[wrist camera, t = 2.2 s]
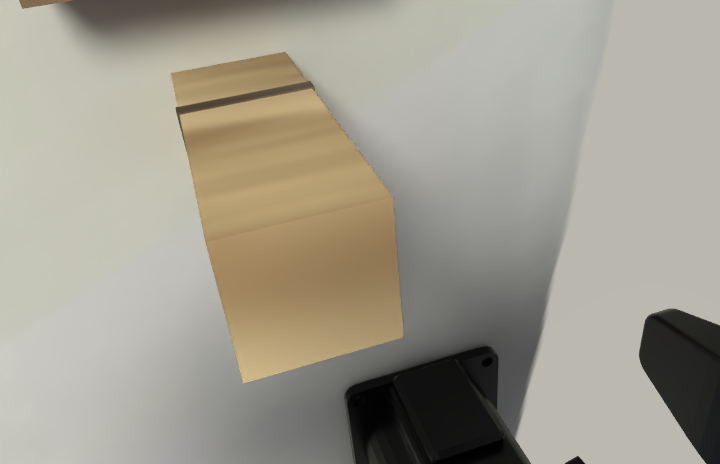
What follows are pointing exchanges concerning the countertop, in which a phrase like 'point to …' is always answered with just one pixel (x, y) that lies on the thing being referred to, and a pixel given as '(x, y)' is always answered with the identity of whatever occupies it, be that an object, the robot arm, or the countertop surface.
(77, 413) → the countertop surface
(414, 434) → the robot arm
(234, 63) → the peg
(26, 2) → the board
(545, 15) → the countertop surface
